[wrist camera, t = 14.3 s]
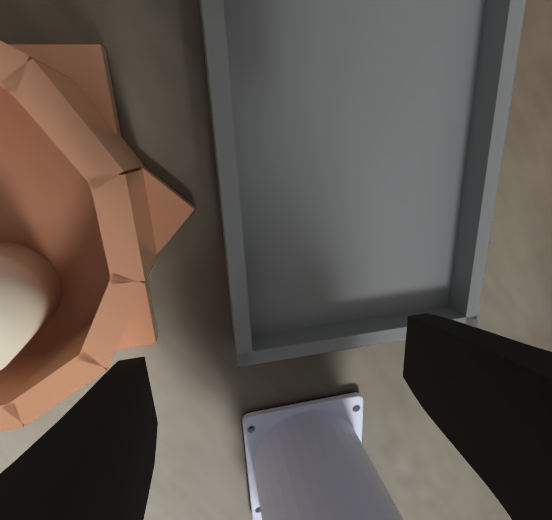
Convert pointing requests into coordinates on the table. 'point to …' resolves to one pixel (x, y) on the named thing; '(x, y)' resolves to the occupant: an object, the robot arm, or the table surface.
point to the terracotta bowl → (76, 219)
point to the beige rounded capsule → (24, 296)
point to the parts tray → (355, 163)
